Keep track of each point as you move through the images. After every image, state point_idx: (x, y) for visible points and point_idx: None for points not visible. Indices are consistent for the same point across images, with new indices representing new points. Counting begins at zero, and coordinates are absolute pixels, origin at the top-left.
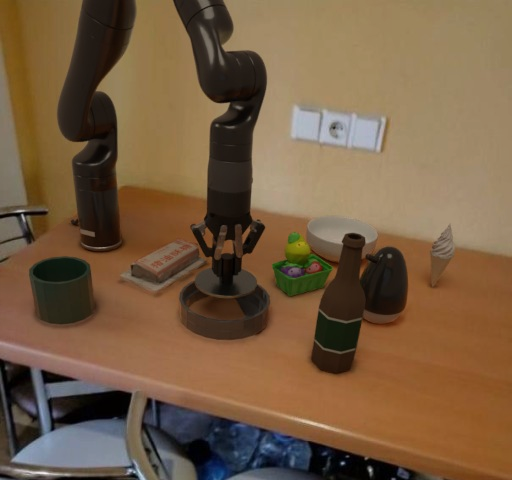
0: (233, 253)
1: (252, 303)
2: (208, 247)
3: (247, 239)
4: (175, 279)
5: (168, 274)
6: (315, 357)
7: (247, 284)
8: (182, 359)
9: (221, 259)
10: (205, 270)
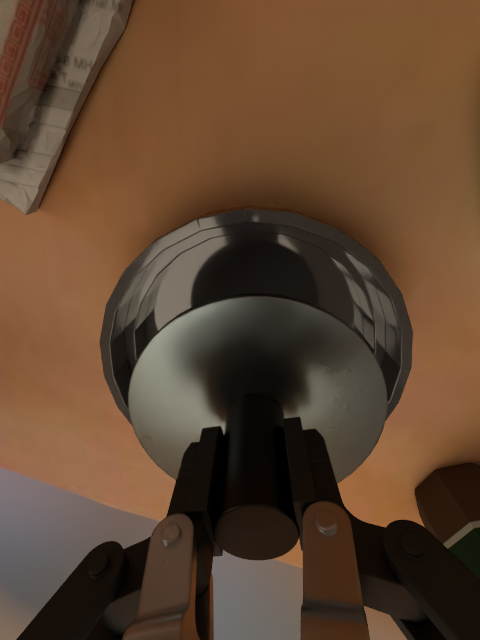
0: (301, 506)
1: (350, 281)
2: (119, 603)
3: (452, 634)
4: (72, 114)
5: (28, 103)
6: (423, 516)
7: (336, 446)
8: (158, 469)
9: (220, 554)
10: (166, 338)
